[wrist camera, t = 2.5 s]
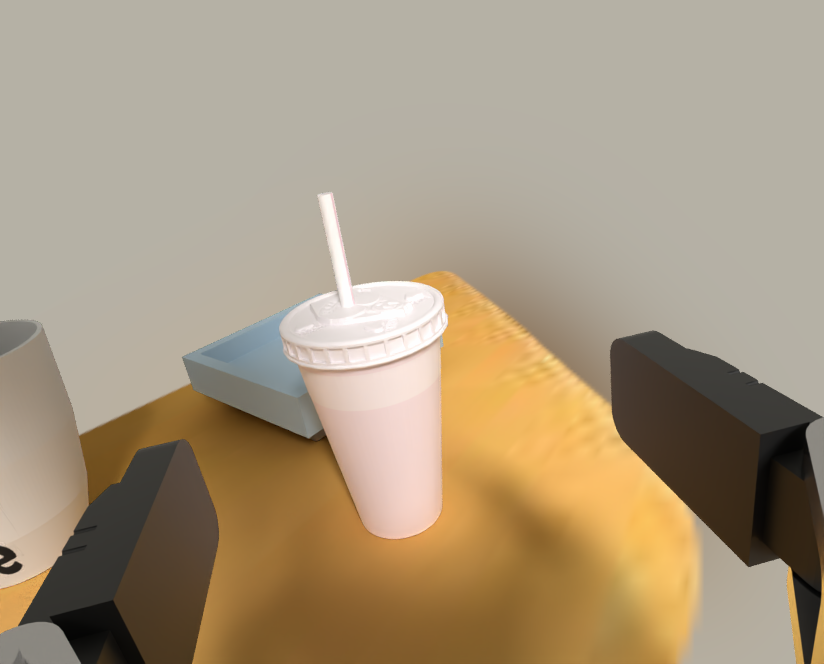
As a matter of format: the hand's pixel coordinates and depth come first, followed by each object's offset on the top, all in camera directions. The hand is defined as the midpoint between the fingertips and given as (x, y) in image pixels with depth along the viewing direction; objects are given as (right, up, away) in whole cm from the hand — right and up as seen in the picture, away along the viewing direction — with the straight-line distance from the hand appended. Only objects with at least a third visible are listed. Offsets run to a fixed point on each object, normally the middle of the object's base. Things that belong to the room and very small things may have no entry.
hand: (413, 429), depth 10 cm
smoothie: (0, -6, +14) cm, 16 cm away
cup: (-18, -8, +16) cm, 25 cm away
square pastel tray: (-6, -2, +26) cm, 27 cm away
